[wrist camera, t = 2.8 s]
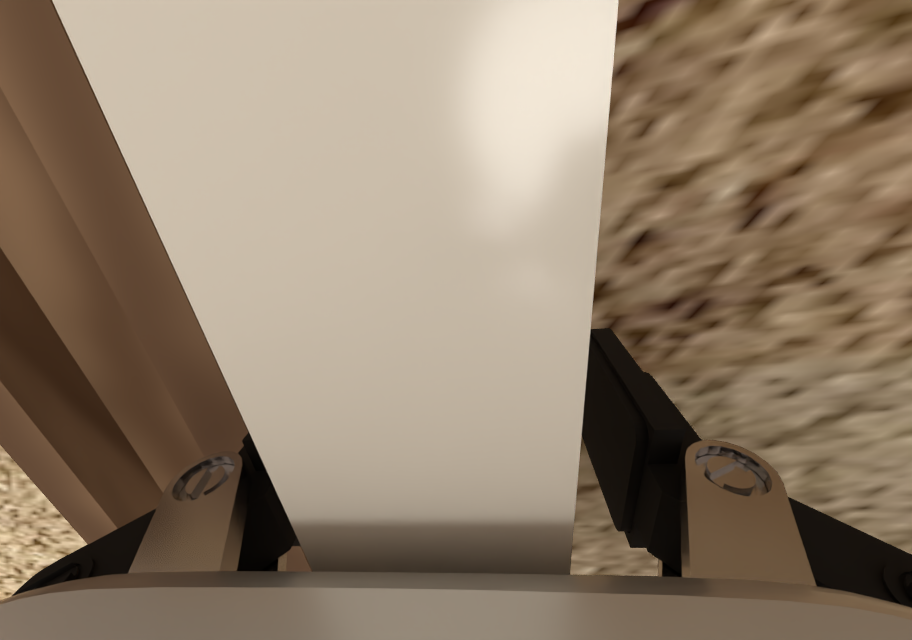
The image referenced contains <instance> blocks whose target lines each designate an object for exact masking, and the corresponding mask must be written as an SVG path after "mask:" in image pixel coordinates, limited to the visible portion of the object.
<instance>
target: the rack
mask: <svg viewBox="0 0 912 640" xmlns="http://www.w3.org/2000/svg"><path fill="white" fill-rule="evenodd" d="M248 432H249V431H248V429H247V426H246V424H245V422H244V420H243V418H242V415H241V413H240V411H239V409H238V407H237V404H236V402H235V400H234V398H233V396H232V394H231V391H230V389H229V387H228V385H227V383H226V380H225V378H224V376H223V374H222V372H221V369H220V367H219V365H218V363H217V361H216V358H215V356H214V354H213V352H212V350H211V347H210V345H209V343H208V341H207V339H206V337H205V334H204V332H203V330H202V328H201V326H200V323H199V321H198V319H197V317H196V315H195V312H194V310H193V308H192V306H191V304H190V301H189V299H188V297H187V295H186V293H185V291H184V288H183V286H182V284H181V282H180V280H179V277H178V275H177V273H176V271H175V269H174V266H173V264H172V262H171V260H170V258H169V255H168V253H167V251H166V249H165V247H164V244H163V242H162V240H161V238H160V236H159V234H158V231H157V229H156V227H155V225H154V223H153V220H152V218H151V216H150V214H149V212H148V209H147V207H146V205H145V203H144V201H143V198H142V196H141V194H140V192H139V190H138V187H137V185H136V183H135V181H134V179H133V177H132V174H131V172H130V170H129V168H128V166H127V163H126V161H125V159H124V157H123V155H122V152H121V150H120V148H119V146H118V144H117V141H116V139H115V137H114V135H113V133H112V131H111V128H110V126H109V124H108V122H107V120H106V117H105V115H104V113H103V111H102V109H101V106H100V104H99V102H98V100H97V98H96V95H95V93H94V91H93V89H92V87H91V84H90V82H89V80H88V78H87V76H86V74H85V71H84V69H83V67H82V65H81V63H80V60H79V58H78V56H77V54H76V52H75V49H74V47H73V45H72V43H71V41H70V38H69V36H68V34H67V32H66V30H65V27H64V25H63V23H62V21H61V19H60V17H59V14H58V12H57V10H56V8H55V6H54V3H53V1H52V0H0V445H1V446H2V447H3V448H4V450H5V451H6V452H7V453H8V454H9V455H10V456H11V458H12V459H13V460H14V461H15V462H16V463H17V464H18V465H19V467H20V468H21V469H22V470H23V471H24V472H25V473H26V475H27V476H28V477H29V478H30V479H31V480H32V481H33V483H34V484H35V485H36V486H37V487H38V488H39V489H40V490H41V492H42V493H43V494H44V495H45V496H46V497H47V498H48V500H49V501H50V502H51V503H52V504H53V505H54V506H55V508H56V509H57V510H58V511H59V512H60V513H61V514H62V515H63V517H64V518H65V519H66V520H67V521H68V522H69V523H70V525H71V526H72V527H73V528H74V529H75V530H76V531H77V533H78V534H79V535H80V536H81V537H82V538H83V539H84V540H85V542H86V543H87V544H90V543H92V542H94V541H96V540H97V539H99V538H101V537H103V536H105V535H107V534H109V533H111V532H112V531H114V530H116V529H118V528H120V527H122V526H124V525H126V524H128V523H129V522H131V521H133V520H135V519H137V518H139V517H141V516H143V515H145V514H146V513H148V512H150V511H152V510H154V509H156V508H157V506H158V504H159V501H160V499H161V497H162V495H163V492H164V490H165V489H166V487H167V485H168V484H169V482H170V481H171V480H172V479H173V478H174V477H175V476H176V475H177V474H178V473H179V472H180V471H181V470H183V469H184V468H185V467H187V466H188V465H189V464H191V463H193V462H195V461H197V460H198V459H200V458H202V457H205V456H207V455H210V454H213V453H217V452H222V451H232V452H235V453H238V452H239V451H240V450H241V449H242V447H243V446H244V445H243V442H242V440H243V438H244V437H245V436H246V435H247V434H248ZM286 553H287V564H286V571H291V572H313V571H312V569H311V567H310V564H309V562H308V560H307V558H306V556H305V554H304V551H303V549H302V547H301V546H292V547H291V549H290V550H289V551H288V552H286Z"/></svg>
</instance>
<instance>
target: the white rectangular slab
mask: <svg viewBox="0 0 912 640" xmlns="http://www.w3.org/2000/svg"><path fill="white" fill-rule="evenodd" d="M52 1H53V3H54V6H55V8H56V10H57V12H58V14H59V17H60V19H61V21H62V23H63V25H64V27H65V30H66V32H67V34H68V36H69V38H70V41H71V43H72V45H73V47H74V49H75V52H76V54H77V56H78V58H79V60H80V63H81V65H82V67H83V69H84V71H85V74H86V76H87V78H88V80H89V82H90V84H91V87H92V89H93V91H94V93H95V95H96V98H97V100H98V102H99V104H100V106H101V109H102V111H103V113H104V115H105V117H106V120H107V122H108V124H109V126H110V128H111V131H112V133H113V135H114V137H115V139H116V141H117V144H118V146H119V148H120V150H121V152H122V155H123V157H124V159H125V161H126V163H127V166H128V168H129V170H130V172H131V174H132V177H133V179H134V181H135V183H136V185H137V187H138V190H139V192H140V194H141V196H142V198H143V201H144V203H145V205H146V207H147V209H148V212H149V214H150V216H151V218H152V220H153V223H154V225H155V227H156V229H157V231H158V234H159V236H160V238H161V240H162V242H163V244H164V247H165V249H166V251H167V253H168V255H169V258H170V260H171V262H172V264H173V266H174V269H175V271H176V273H177V275H178V277H179V280H180V282H181V284H182V286H183V288H184V291H185V293H186V295H187V297H188V299H189V301H190V304H191V306H192V308H193V310H194V312H195V315H196V317H197V319H198V321H199V323H200V326H201V328H202V330H203V332H204V334H205V337H206V339H207V341H208V343H209V345H210V347H211V350H212V352H213V354H214V356H215V358H216V361H217V363H218V365H219V367H220V369H221V372H222V374H223V376H224V378H225V380H226V383H227V385H228V387H229V389H230V391H231V394H232V396H233V398H234V400H235V402H236V404H237V407H238V409H239V411H240V413H241V415H242V418H243V420H244V422H245V424H246V426H247V429H248V431H249V433H250V435H251V437H252V440H253V442H254V444H255V446H256V448H257V451H258V453H259V455H260V457H261V459H262V461H263V464H264V466H265V468H266V470H267V472H268V475H269V477H270V479H271V481H272V483H273V486H274V488H275V490H276V492H277V494H278V497H279V499H280V501H281V503H282V505H283V507H284V510H285V512H286V514H287V516H288V518H289V521H290V523H291V525H292V527H293V529H294V532H295V534H296V536H297V538H298V540H299V543H300V545H301V547H302V549H303V551H304V554H305V556H306V558H307V560H308V562H309V564H310V567H311V569H312V571H313V572H411V573H493V574H555V575H570V565H571V553H572V541H573V530H574V518H575V506H576V494H577V483H578V471H579V459H580V447H581V436H582V424H583V412H584V400H585V389H586V377H587V365H588V353H589V341H590V330H591V318H592V306H593V294H594V283H595V271H596V259H597V247H598V236H599V224H600V212H601V200H602V189H603V177H604V165H605V153H606V142H607V130H608V118H609V106H610V94H611V83H612V71H613V59H614V47H615V36H616V24H617V12H618V0H52Z"/></svg>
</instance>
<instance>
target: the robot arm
mask: <svg viewBox="0 0 912 640" xmlns="http://www.w3.org/2000/svg"><path fill="white" fill-rule="evenodd" d="M582 438H583V440H584V443H585V446H586V448H587V451H588V454H589V457H590V459H591V462H592V465H593V468H594V470H595V473H596V476H597V479H598V481H599V484H600V487H601V490H602V492H603V495H604V498H605V501H606V503H607V506H608V509H609V512H610V514H611V517H612V520H613V523H614V525H615V527H616V529H617V530H618V531H624V532H625V534H626V537H627V540H628V542H629V545H630V547H631V548H647V551H648V552H649V553H651V554H652V555H654V556H655V557H657V558H658V576H613V575H555V574H493V573H411V572H291V571H286V564H287V553H286V552H288V551H289V550H290V549H291V547H292V546H301V545H300V543H299V540H298V538H297V536H296V534H295V532H294V529H293V527H292V525H291V523H290V521H289V518H288V516H287V514H286V512H285V510H284V507H283V505H282V503H281V501H280V499H279V497H278V494H277V492H276V490H275V488H274V486H273V483H272V481H271V479H270V477H269V475H268V472H267V470H266V468H265V466H264V464H263V461H262V459H261V457H260V455H259V453H258V451H257V448H256V446H255V444H254V442H253V440H252V437H251V435H250V433H249V432H248V434H247V435H246V436H245V437H244V438H243V440H242V442H243V445H244V446H243V447H242V449H241V450H240V451H239V452H238V453H235V452H232V451H222V452H217V453H213V454H210V455H207V456H205V457H202V458H200V459H198V460H197V461H195V462H193V463H191V464H189V465H188V466H187V467H185V468H184V469H183V470H181V471H180V472H179V473H178V474H177V475H176V476H175V477H174V478H173V479H172V480H171V481H170V482H169V484H168V485H167V487H166V489H165V490H164V492H163V495H162V497H161V499H160V501H159V504H158V506H157V508H156V509H154V510H152V511H150V512H148V513H146V514H145V515H143V516H141V517H139V518H137V519H135V520H133V521H131V522H129V523H128V524H126V525H124V526H122V527H120V528H118V529H116V530H114V531H112V532H111V533H109V534H107V535H105V536H103V537H101V538H99V539H97V540H96V541H94V542H92V543H90V544H88V545H86V546H84V547H82V548H80V549H79V550H77V551H75V552H73V553H71V554H69V555H67V556H65V557H63V558H62V559H60V560H58V561H56V562H55V563H53V564H51V565H50V566H48V567H46V568H44V569H43V570H41V571H40V572H38V573H37V574H36V575H34V576H33V577H32V578H31V579H29V580H28V581H27V582H26V583H25V584H24V585H23V586H22V587H21V588H19V589H18V590H17V591H16V592H15V593H14V594H13V595H12V596H11V597H9V598H6V599H3V600H0V640H912V555H911V554H909V553H907V552H905V551H902V550H900V549H898V548H896V547H894V546H892V545H890V544H887V543H885V542H883V541H881V540H879V539H877V538H875V537H873V536H870V535H868V534H866V533H864V532H862V531H860V530H858V529H855V528H853V527H851V526H849V525H847V524H845V523H843V522H841V521H838V520H836V519H834V518H832V517H830V516H828V515H826V514H823V513H821V512H819V511H817V510H815V509H813V508H811V507H809V506H806V505H804V504H802V503H800V502H798V501H796V500H794V499H791V498H789V497H788V496H787V493H786V490H785V487H784V484H783V482H782V480H781V478H780V476H779V475H778V473H777V472H776V471H775V470H774V469H773V468H772V467H771V466H770V465H769V464H768V463H767V462H766V461H765V460H763V459H762V458H760V457H759V456H757V455H756V454H754V453H752V452H750V451H748V450H746V449H744V448H742V447H740V446H737V445H734V444H731V443H728V442H722V441H716V440H703V441H702V440H701V439H700V438H699V436H698V435H697V434H696V432H695V431H694V430H693V429H692V427H691V426H690V425H689V423H688V422H687V421H686V419H685V418H684V417H683V416H682V414H681V413H680V412H679V410H678V409H677V408H676V407H675V405H674V404H673V403H672V401H671V400H670V399H669V398H668V396H667V395H666V394H665V392H664V391H663V390H662V389H661V387H660V386H659V385H658V383H657V382H656V381H655V380H654V378H653V377H652V376H651V375H650V374H649V373H646V372H643V371H642V370H641V369H640V367H639V366H638V365H637V363H636V362H635V361H634V359H633V358H632V357H631V355H630V354H629V353H628V351H627V350H626V349H625V347H624V346H623V345H622V343H621V342H620V341H619V339H618V338H617V337H616V335H615V334H614V333H613V331H612V330H611V329H610V328H605V329H591V330H590V341H589V353H588V365H587V377H586V389H585V400H584V412H583V424H582Z"/></svg>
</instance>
